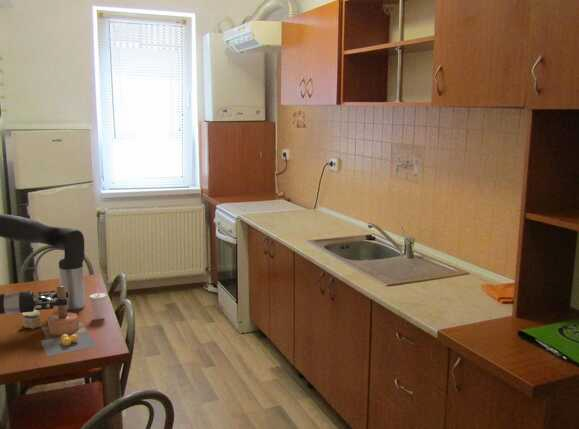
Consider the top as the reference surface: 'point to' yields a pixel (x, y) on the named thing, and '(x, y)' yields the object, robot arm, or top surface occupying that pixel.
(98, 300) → the smoothie
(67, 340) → the amber marble
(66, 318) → the peg on base plate
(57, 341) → the slate mat
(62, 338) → the amber marble
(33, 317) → the beige piece
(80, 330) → the clear flat panel
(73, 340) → the amber marble
